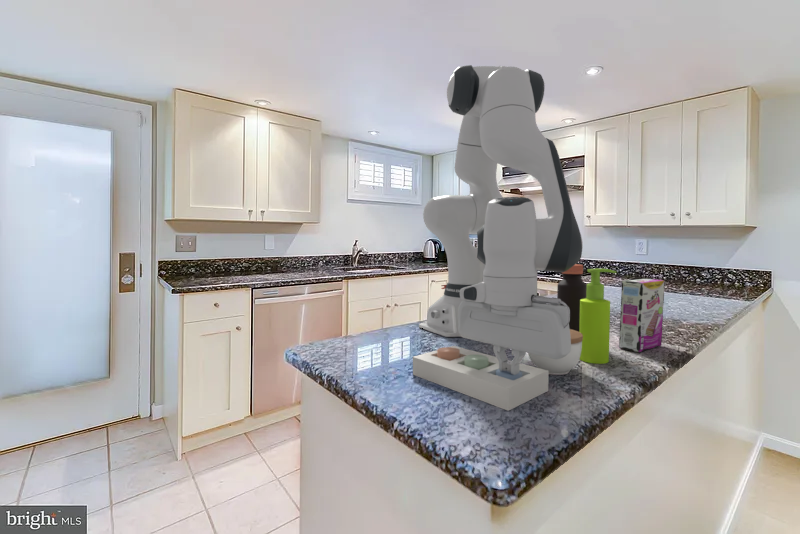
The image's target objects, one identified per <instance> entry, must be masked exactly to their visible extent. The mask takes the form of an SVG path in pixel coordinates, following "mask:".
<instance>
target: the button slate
mask: <svg viewBox="0 0 800 534" xmlns="http://www.w3.org/2000/svg"><path fill="white" fill-rule="evenodd" d="M496 375H497V376H500V377H504V378H507V379H510V380H515V379H518V378H520V377H522V372H521V371H519V373H518V374H517V375H512V374H509V373H506V372H502V371H500V370H499V369H498V370H496Z"/></svg>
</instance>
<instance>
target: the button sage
mask: <svg viewBox="0 0 800 534" xmlns="http://www.w3.org/2000/svg"><path fill="white" fill-rule="evenodd" d="M464 366H468V367H471V368H474V369H478V370H480V369H483V368H486V367H488V366H489V358H488V357H486V356H483V355H467V356H465V357H464Z"/></svg>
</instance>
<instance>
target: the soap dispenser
mask: <svg viewBox="0 0 800 534" xmlns="http://www.w3.org/2000/svg"><path fill="white" fill-rule="evenodd" d="M617 272H618V271H617V270H614V269H608V268H601V267H600V268H598V267H597V268H587V273H590V282H588V283H587V284H586V285H587V291H586V298H585V299H581V300H580V325H579V332H580V333H582V335H583V340H582V351H581V356H580V359H579V361H582V362H585V363H589V364H593V365H594V364H597V365H603V364H604V365H605V364H608V363H609V362H610V332H611V331H610V329H611V324H610V323H611V316H610V315H611V301H610V300H608V299H605V284H603V283H602V282H601V273H613V274H616V273H617Z"/></svg>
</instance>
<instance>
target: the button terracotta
mask: <svg viewBox="0 0 800 534" xmlns="http://www.w3.org/2000/svg"><path fill="white" fill-rule="evenodd" d="M436 350H437V357H438V358H442V359H445V360H448V361H451V360H454V359H457V358H460V350H459V349H457V348H452V347H451V346H444V347H439V348H437V349H436Z"/></svg>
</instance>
